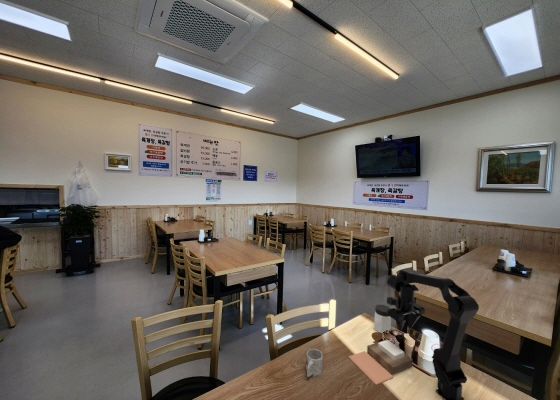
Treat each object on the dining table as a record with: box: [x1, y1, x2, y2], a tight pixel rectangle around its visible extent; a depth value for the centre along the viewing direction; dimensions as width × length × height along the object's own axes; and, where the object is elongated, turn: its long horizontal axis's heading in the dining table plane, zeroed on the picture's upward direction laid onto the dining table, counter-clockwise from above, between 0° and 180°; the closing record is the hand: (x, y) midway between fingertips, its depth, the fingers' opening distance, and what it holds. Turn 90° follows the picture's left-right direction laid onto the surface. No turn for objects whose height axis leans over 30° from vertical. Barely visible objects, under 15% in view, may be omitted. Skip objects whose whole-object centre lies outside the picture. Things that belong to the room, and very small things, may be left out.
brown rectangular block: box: [366, 339, 413, 376], centre depth 103 cm, size 14×12×4 cm
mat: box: [348, 350, 394, 386], centre depth 98 cm, size 16×10×1 cm, turn 24°
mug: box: [305, 348, 323, 378], centre depth 95 cm, size 10×7×7 cm, turn 149°
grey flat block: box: [378, 339, 405, 360], centre depth 103 cm, size 9×6×2 cm, turn 24°
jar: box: [373, 304, 392, 334], centre depth 126 cm, size 9×8×12 cm
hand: (405, 329), depth 106 cm, fingers open, 7 cm apart
